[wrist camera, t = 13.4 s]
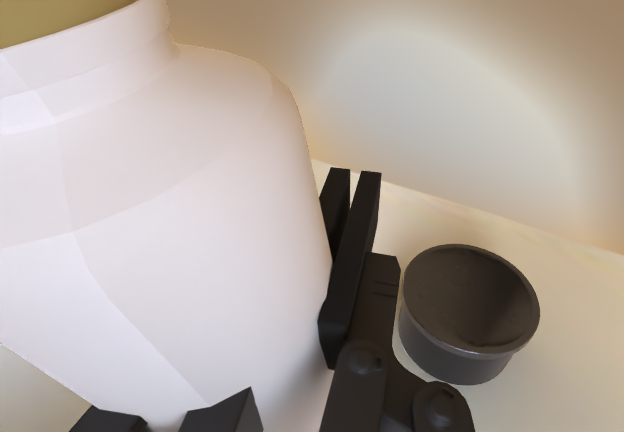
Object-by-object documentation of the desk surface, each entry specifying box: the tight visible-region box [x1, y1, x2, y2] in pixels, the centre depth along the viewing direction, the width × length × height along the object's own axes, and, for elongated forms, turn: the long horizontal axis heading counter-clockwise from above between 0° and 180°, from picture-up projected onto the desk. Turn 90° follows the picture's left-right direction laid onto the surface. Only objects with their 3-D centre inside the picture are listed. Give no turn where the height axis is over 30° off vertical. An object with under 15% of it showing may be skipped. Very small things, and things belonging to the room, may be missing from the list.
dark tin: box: [399, 244, 540, 385], centre depth 20 cm, size 6×6×4 cm
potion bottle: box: [0, 0, 334, 432], centre depth 12 cm, size 8×8×18 cm
